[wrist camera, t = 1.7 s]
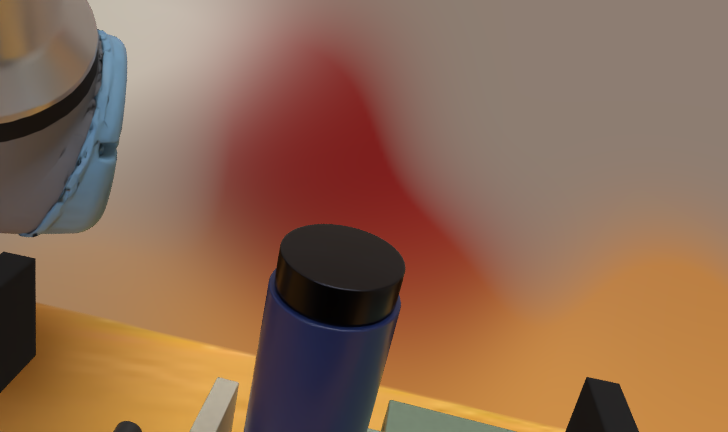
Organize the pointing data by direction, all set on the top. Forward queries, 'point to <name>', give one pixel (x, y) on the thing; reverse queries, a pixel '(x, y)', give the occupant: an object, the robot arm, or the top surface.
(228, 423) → the drawer
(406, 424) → the cabinet
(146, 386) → the top surface
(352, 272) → the flask
